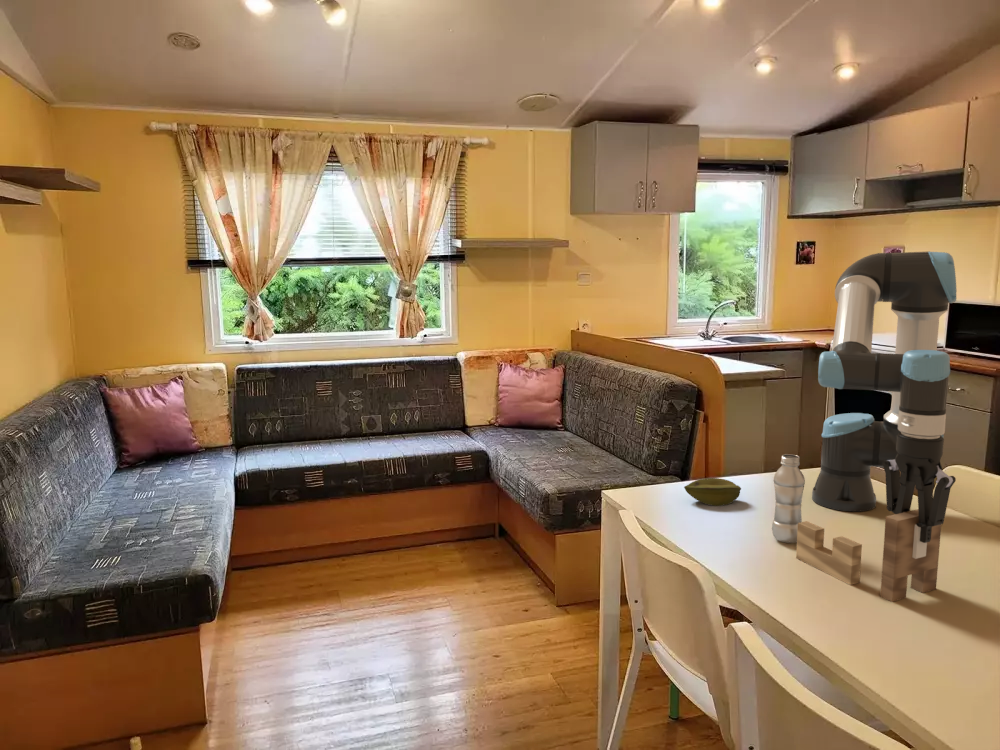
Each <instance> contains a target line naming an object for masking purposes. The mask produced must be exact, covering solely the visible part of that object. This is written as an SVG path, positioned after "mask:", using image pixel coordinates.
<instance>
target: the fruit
mask: <svg viewBox="0 0 1000 750" xmlns="http://www.w3.org/2000/svg"><path fill="white" fill-rule="evenodd" d="M683 488H684V490H685V492H686V493H687V494H689V495H690V496H691V498H693V499H695V500H696V501H698V502H700V503H702V504H705V505H708V506H713V507H714V506H715V507H721V506H722V507H723V506H724V507H725V506H728V505H730V504H732V503H733V502H735V501H736V500H737V499H738V498H739V497H740V495H741V490H742V488H741V486H740V485H737V484H735V482H733V481H731V480H727V479H724V478H717V477H706V478H700V479H696V480H694V481H692V482H690V483H688V484H686V485H685V486H684V487H683Z"/></svg>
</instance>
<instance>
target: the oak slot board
mask: <svg viewBox="0 0 1000 750" xmlns="http://www.w3.org/2000/svg"><path fill="white" fill-rule="evenodd" d="M824 539H825V527H821V526H819V525H816V524H815V523H812V522H810V521H807V520H805V521H802V522H800V523H798V530H797V542H796V551H795V552H796V553H795V558H796V559H797V560H800V561H801V562H803V563H805V564H807V565H809V566H811V567H813V568H815V569H818V570H819V571H822V572H824V573H825V574H827V575H829V576H831V577H833V578H835V579H838V580H840V581H841V582H844V583H846V584H848V585H850V586H851V585H855V584H859V583H861V581H860V580H861V568H862V567H861V565H862V563H861V562H862V548H863V544H862V543H860V542H857V541H855V540H852V539H850V538H847V537H846V536H844V535H840V536H837V537H833V538H832V547H831V549H830V548H827V547H825V545H824V542H825V540H824Z"/></svg>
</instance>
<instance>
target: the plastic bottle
mask: <svg viewBox="0 0 1000 750" xmlns="http://www.w3.org/2000/svg"><path fill="white" fill-rule="evenodd" d="M780 458H781V460H780V465H781V466H780V467H779V468H778V469H777V471H776V472H775V473H774V476H773V485H774V494H775V495H774V496H775V497H774V498H775V508H774V516H773V520H772V523H771V524H772V526H771V531H772V536H773V537H774V539H775V540H777V541H778V542H781V543H782V542H783V543H786V544H787V543H788V544H795V543H796V544H797V530H798V523H800V522H803V520H802V519H803V518H802V501H803V495H804V488H805V485H806V484H805V483H806V479H805V476H804V474H803V472H802V471H801V469H800V468H799V466H800V464H801V463H800V456H799V455H797V454H796V455H795V454H792V453H791V454H788V453H785V454H782V455H781V457H780Z"/></svg>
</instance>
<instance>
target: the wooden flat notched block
mask: <svg viewBox="0 0 1000 750" xmlns="http://www.w3.org/2000/svg"><path fill="white" fill-rule="evenodd" d="M916 523H919V512H918V509H913V510H910V511H908V512H904V513H899V514H891V515H886V516H885V525H884V536H883V538H884V539H883V551H882V566H881V567H882V568H881V580H880V582H881V583H880V595H879V596H880V597H881V598H883V599H885V600H888V601H889V602H891V603H892V602H896V601H900V600H902V599H906V598H907V589H908V576H911V578H910V588H911V589H913V590H915V591H917V592H920V593H921V594H924V593H928V592H931V591H935V590H936V589H937V582H938V581H937V580H938V571H939V570H938V569H939V556H940V544H941V532H942V524H941V525H937V526H932V532H931V540H930V542H927V549H926V556H925V557H921V558H917V559H915V558H913V557H912V556H913V542H914V529H915V524H916Z"/></svg>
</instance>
